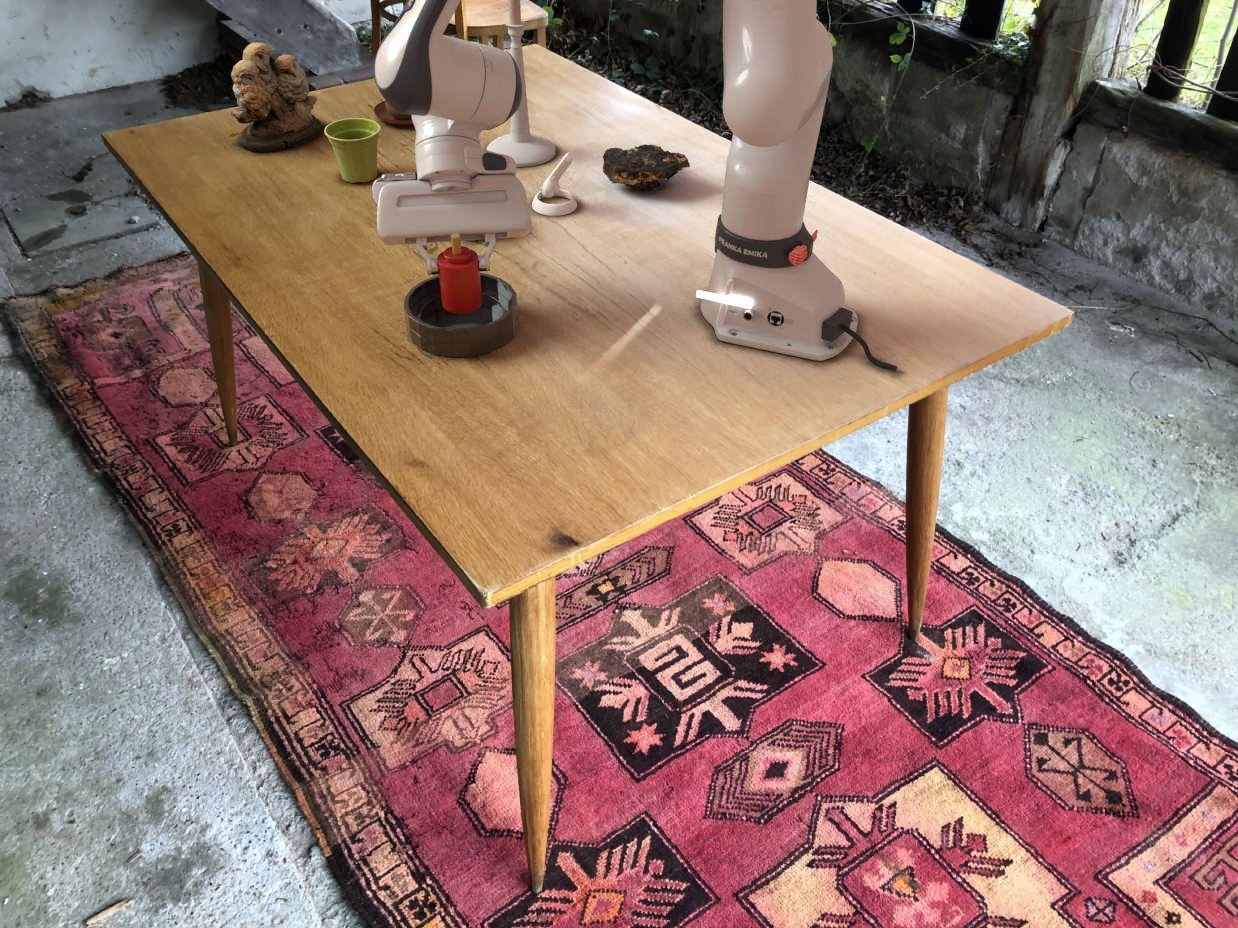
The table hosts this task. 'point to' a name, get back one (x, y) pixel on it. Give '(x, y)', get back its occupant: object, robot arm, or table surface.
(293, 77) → the owl figurine
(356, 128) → the plant pot
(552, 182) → the hook
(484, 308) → the bowl
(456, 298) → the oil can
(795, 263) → the robot arm
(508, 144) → the candlestick
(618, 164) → the fossil rock
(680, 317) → the table surface
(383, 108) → the cup and saucer
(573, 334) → the table surface
